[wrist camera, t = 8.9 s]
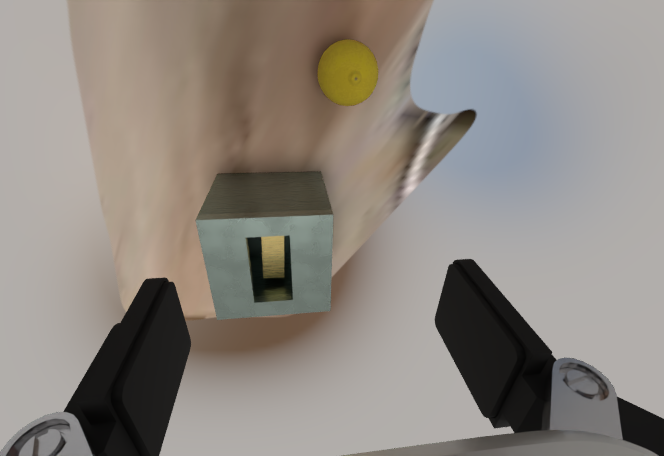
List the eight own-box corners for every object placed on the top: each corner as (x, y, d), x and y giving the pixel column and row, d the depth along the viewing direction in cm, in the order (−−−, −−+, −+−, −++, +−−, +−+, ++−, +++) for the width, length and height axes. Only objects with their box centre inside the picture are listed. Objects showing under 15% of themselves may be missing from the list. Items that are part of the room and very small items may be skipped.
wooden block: (265, 248, 42) (263, 208, 39) (284, 248, 43) (283, 208, 40) (263, 278, 37) (261, 233, 34) (284, 277, 37) (284, 233, 34)
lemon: (319, 102, 35) (328, 118, 28) (309, 44, 32) (317, 46, 25) (369, 93, 35) (390, 107, 28) (364, 34, 32) (386, 33, 25)
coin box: (217, 173, 37) (195, 220, 28) (320, 171, 39) (333, 214, 29) (231, 258, 43) (217, 319, 34) (320, 253, 45) (330, 310, 35)
